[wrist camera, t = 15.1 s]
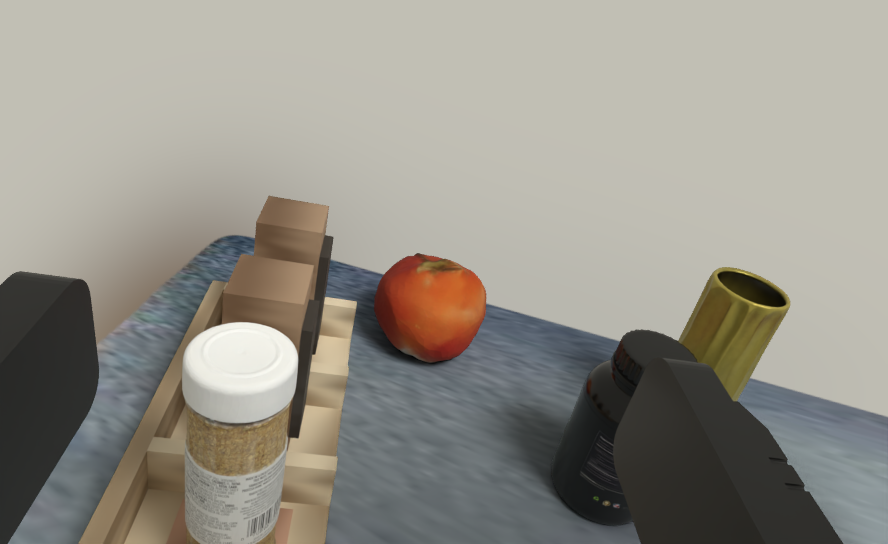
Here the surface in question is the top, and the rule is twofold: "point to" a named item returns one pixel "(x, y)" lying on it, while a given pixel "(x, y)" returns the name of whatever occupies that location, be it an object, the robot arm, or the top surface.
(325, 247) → the rail rack
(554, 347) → the top surface
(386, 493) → the top surface
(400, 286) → the tomato
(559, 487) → the supplement bottle
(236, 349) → the spice jar
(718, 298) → the vase
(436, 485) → the top surface
